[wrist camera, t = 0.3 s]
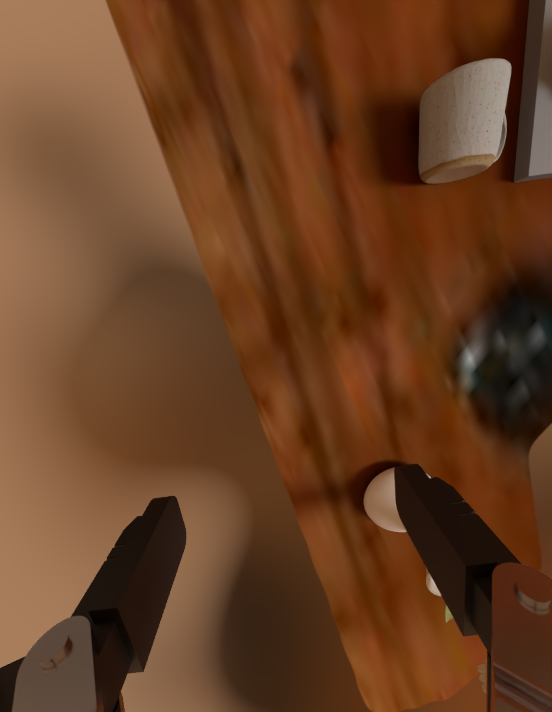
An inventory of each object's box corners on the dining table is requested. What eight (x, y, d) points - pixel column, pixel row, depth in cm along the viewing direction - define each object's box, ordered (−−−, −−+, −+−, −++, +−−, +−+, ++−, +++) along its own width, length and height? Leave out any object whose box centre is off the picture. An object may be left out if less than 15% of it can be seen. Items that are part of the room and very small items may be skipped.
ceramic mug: (406, 191, 33) (445, 164, 26) (406, 111, 31) (449, 57, 24) (492, 180, 33) (557, 150, 26) (498, 100, 31) (570, 42, 24)
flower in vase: (351, 512, 45) (441, 776, 21) (373, 453, 42) (507, 678, 18) (425, 527, 46) (595, 796, 22) (451, 470, 43) (679, 705, 19)
